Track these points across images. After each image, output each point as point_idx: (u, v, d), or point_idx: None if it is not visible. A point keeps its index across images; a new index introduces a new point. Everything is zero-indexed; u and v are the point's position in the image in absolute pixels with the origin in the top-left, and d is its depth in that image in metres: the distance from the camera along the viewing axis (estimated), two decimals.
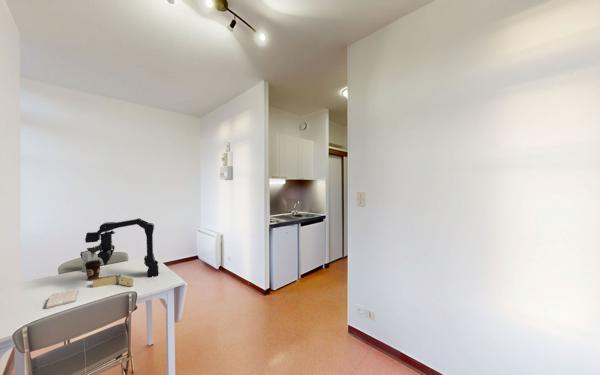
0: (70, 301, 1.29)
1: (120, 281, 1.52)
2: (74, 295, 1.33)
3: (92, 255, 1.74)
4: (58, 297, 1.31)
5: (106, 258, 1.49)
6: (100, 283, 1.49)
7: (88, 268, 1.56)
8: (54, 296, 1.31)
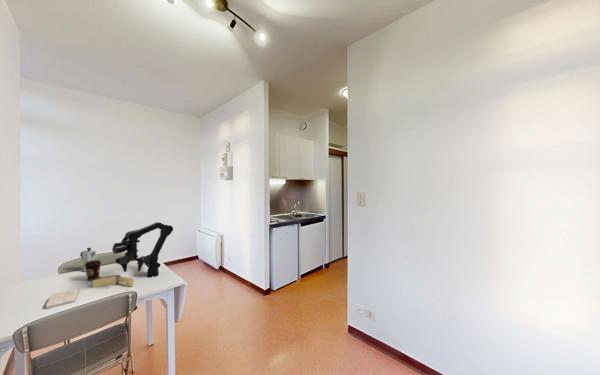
0: (70, 301, 1.28)
1: (120, 281, 1.52)
2: (74, 295, 1.33)
3: (92, 255, 1.74)
4: (58, 297, 1.31)
5: (141, 264, 1.56)
6: (100, 283, 1.49)
7: (88, 268, 1.56)
8: (55, 296, 1.32)
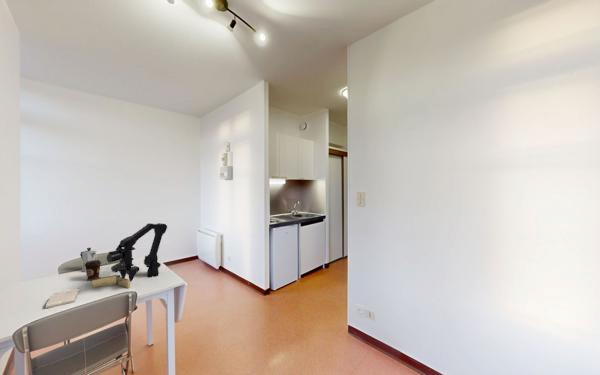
0: (69, 301, 1.28)
1: (119, 281, 1.51)
2: (74, 295, 1.33)
3: (92, 255, 1.74)
4: (59, 297, 1.31)
5: (133, 274, 1.49)
6: (100, 283, 1.49)
7: (88, 268, 1.56)
8: (55, 296, 1.32)
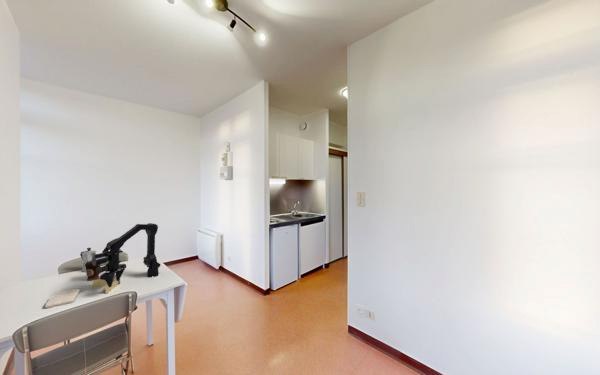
0: (69, 302, 1.28)
1: None
2: (74, 295, 1.33)
3: (92, 255, 1.74)
4: (59, 297, 1.31)
5: (110, 280, 1.40)
6: (100, 283, 1.49)
7: (88, 268, 1.56)
8: (56, 295, 1.32)
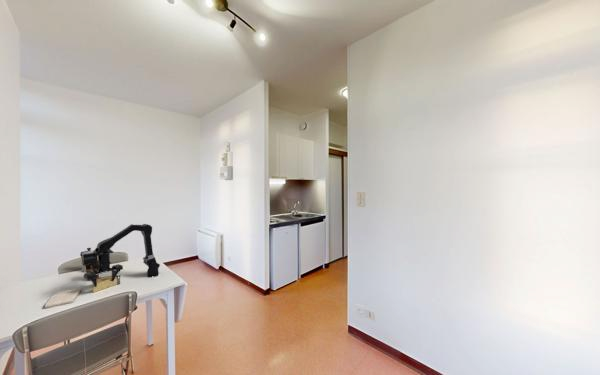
0: (68, 302, 1.28)
1: None
2: (74, 295, 1.33)
3: None
4: (59, 297, 1.31)
5: None
6: None
7: (88, 268, 1.56)
8: (56, 295, 1.32)
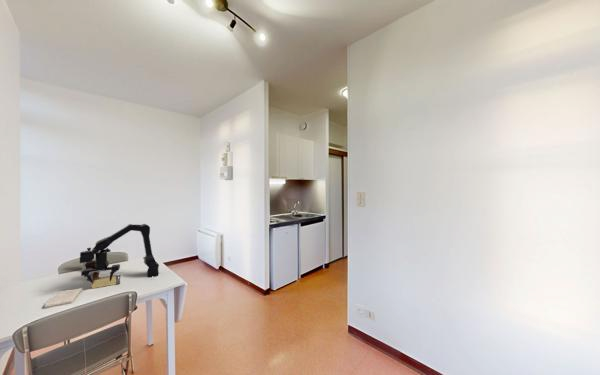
0: (68, 302, 1.28)
1: None
2: (74, 296, 1.33)
3: None
4: (59, 296, 1.31)
5: None
6: None
7: (88, 268, 1.56)
8: (57, 295, 1.33)
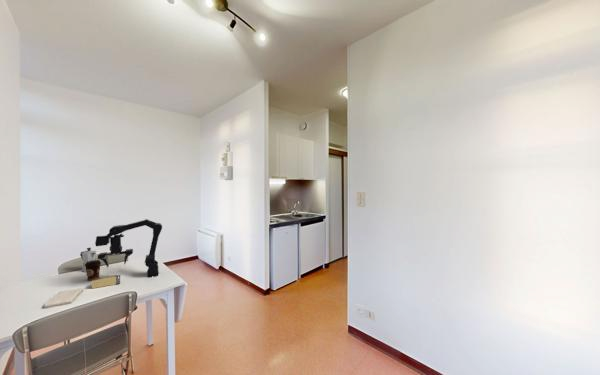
0: (67, 302, 1.27)
1: None
2: (74, 296, 1.33)
3: (92, 255, 1.74)
4: (60, 296, 1.31)
5: None
6: None
7: (88, 268, 1.56)
8: (58, 295, 1.33)
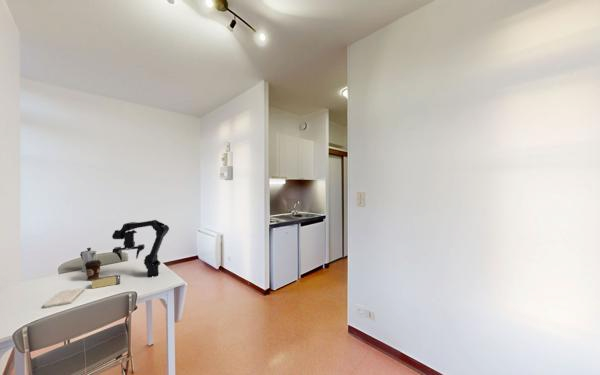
0: (66, 302, 1.27)
1: None
2: (74, 296, 1.32)
3: (92, 255, 1.74)
4: (60, 296, 1.32)
5: None
6: None
7: (88, 268, 1.56)
8: (58, 294, 1.33)
